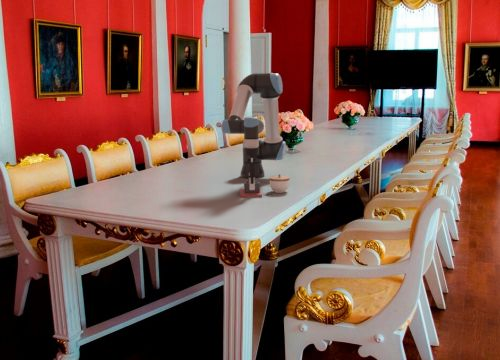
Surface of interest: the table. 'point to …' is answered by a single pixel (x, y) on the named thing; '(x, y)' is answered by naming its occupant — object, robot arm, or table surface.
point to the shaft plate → (250, 194)
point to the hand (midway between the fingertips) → (251, 187)
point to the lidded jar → (279, 183)
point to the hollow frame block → (247, 187)
